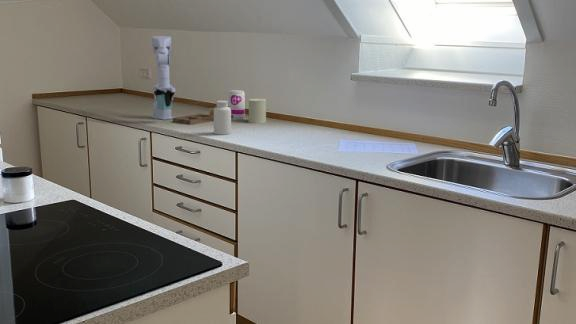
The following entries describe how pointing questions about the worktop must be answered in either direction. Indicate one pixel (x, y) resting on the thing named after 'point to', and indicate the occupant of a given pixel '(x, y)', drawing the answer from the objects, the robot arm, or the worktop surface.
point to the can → (257, 110)
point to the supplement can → (237, 104)
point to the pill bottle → (222, 118)
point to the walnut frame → (194, 119)
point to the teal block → (162, 103)
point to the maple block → (211, 111)
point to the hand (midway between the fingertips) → (164, 105)
